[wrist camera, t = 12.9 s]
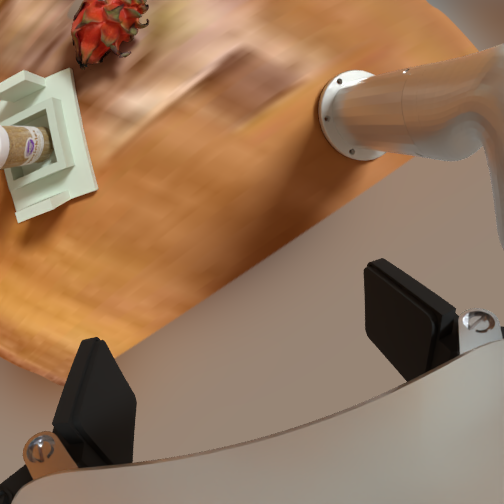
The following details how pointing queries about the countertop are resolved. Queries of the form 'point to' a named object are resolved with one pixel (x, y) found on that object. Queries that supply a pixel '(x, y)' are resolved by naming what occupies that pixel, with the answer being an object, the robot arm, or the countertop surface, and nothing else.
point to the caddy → (63, 136)
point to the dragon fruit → (105, 28)
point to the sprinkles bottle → (24, 145)
